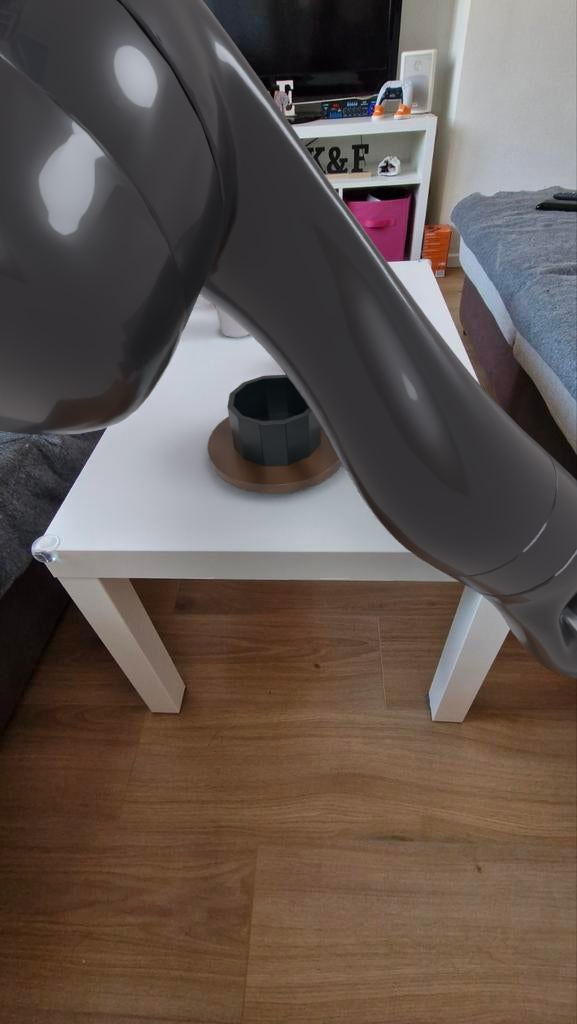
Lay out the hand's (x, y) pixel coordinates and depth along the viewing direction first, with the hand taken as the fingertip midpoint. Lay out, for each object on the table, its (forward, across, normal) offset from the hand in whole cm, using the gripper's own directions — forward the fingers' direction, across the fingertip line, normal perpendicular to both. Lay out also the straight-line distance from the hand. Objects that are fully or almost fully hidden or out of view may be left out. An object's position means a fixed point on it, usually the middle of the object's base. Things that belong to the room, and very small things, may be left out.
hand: (347, 347), depth 51 cm
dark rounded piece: (+6, +7, +15) cm, 18 cm away
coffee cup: (+44, +1, +16) cm, 47 cm away
